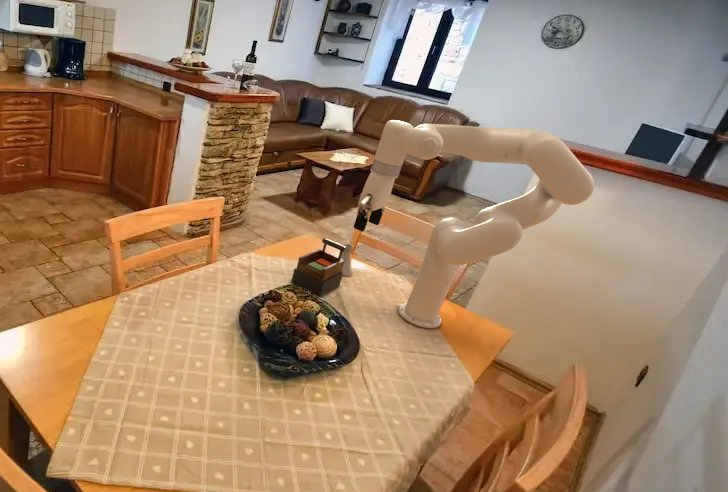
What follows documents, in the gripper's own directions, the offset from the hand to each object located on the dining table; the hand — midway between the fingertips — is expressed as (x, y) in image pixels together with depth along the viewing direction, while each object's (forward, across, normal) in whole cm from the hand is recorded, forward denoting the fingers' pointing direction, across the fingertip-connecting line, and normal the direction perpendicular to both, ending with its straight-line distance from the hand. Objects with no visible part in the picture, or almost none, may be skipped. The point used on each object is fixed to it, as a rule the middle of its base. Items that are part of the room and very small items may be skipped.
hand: (366, 226), depth 144 cm
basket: (+19, -1, -10) cm, 22 cm away
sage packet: (+19, +2, -10) cm, 22 cm away
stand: (+25, -1, -10) cm, 27 cm away
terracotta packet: (+19, -3, -10) cm, 22 cm away
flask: (+24, -18, -10) cm, 32 cm away
